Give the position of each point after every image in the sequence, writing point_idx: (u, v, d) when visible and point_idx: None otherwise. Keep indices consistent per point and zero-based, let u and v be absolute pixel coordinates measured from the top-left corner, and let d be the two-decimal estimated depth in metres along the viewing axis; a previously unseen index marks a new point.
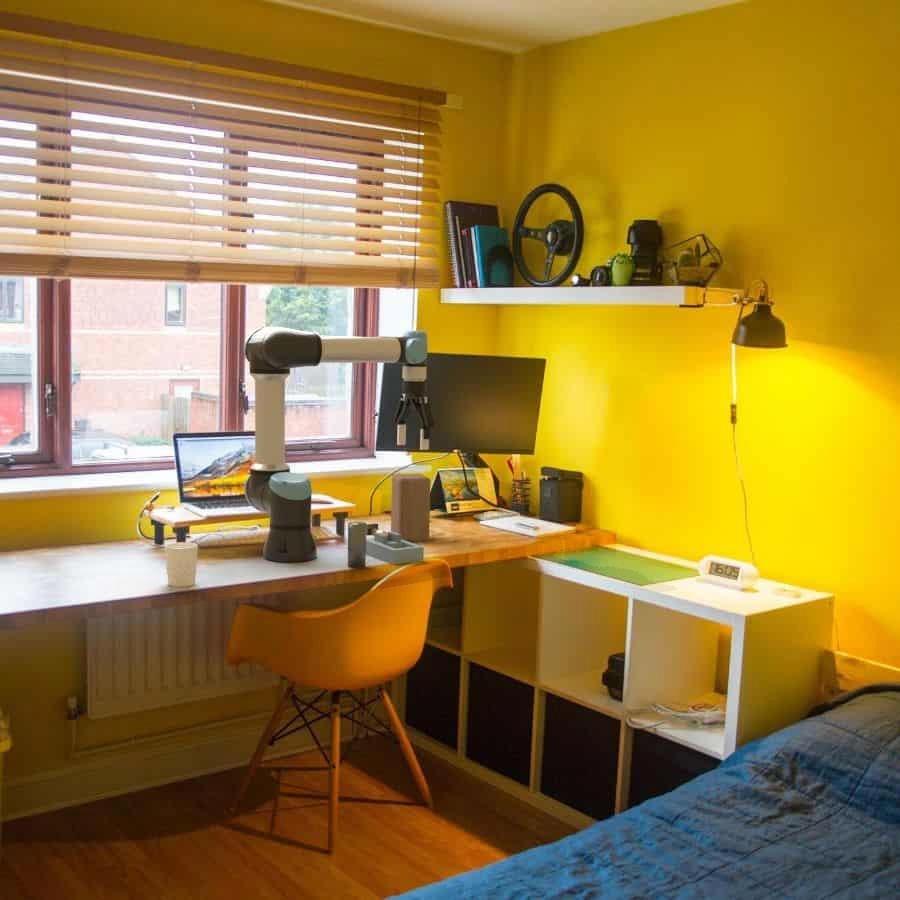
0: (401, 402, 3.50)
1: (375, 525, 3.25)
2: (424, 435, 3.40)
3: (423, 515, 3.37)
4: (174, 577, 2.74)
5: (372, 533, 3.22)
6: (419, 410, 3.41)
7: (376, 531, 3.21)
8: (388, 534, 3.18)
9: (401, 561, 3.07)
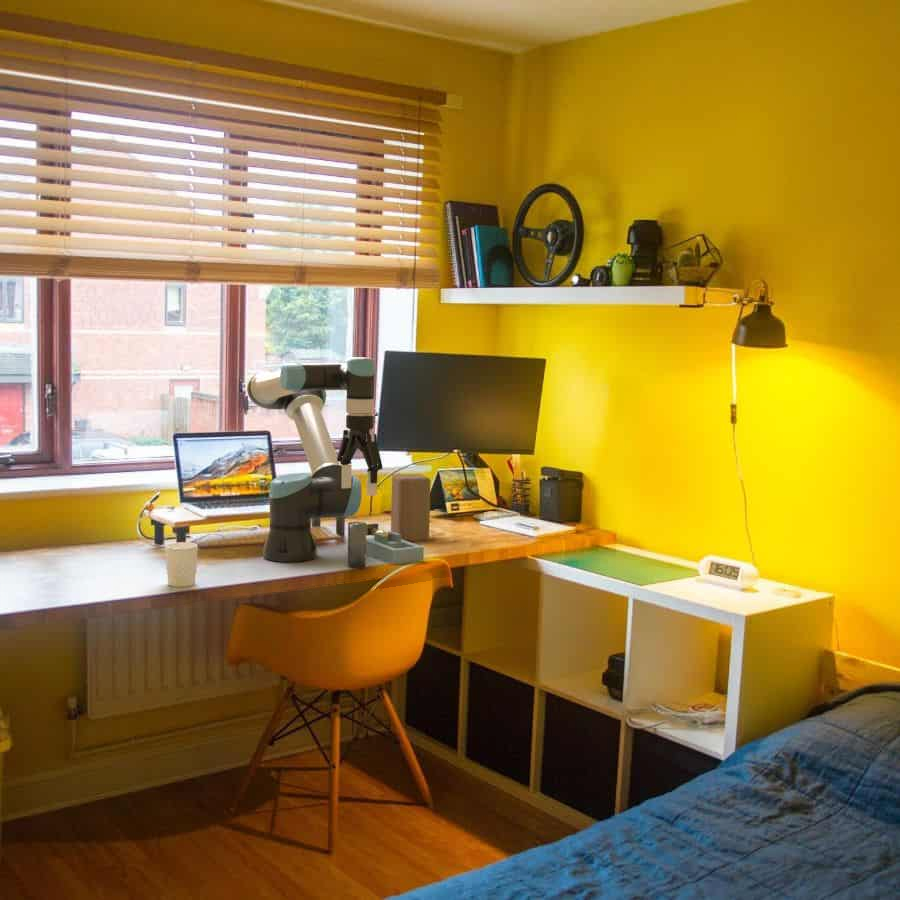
0: (345, 439, 3.03)
1: (375, 525, 3.25)
2: (371, 478, 2.94)
3: (423, 515, 3.37)
4: (174, 577, 2.74)
5: (372, 533, 3.22)
6: (365, 449, 2.95)
7: (376, 531, 3.21)
8: (388, 534, 3.18)
9: (401, 561, 3.07)
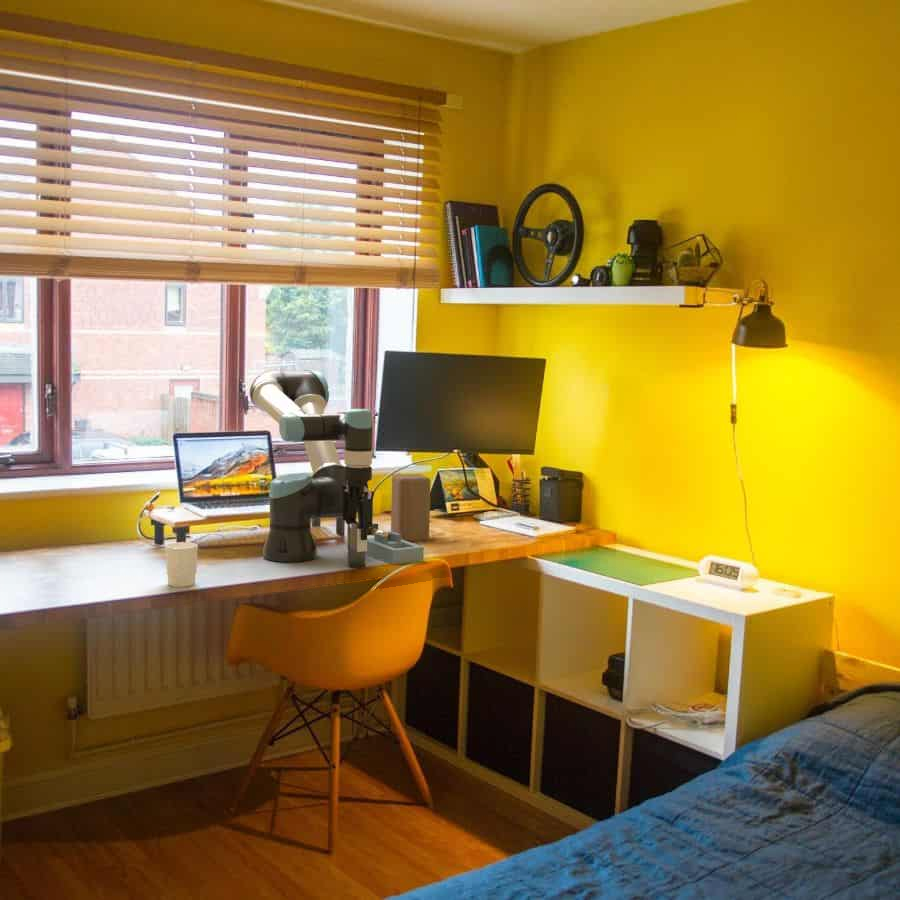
0: (346, 494, 3.04)
1: (375, 525, 3.25)
2: (361, 535, 2.98)
3: (423, 515, 3.37)
4: (174, 577, 2.74)
5: (372, 533, 3.22)
6: (360, 504, 2.98)
7: (376, 531, 3.21)
8: (388, 534, 3.18)
9: (401, 561, 3.07)
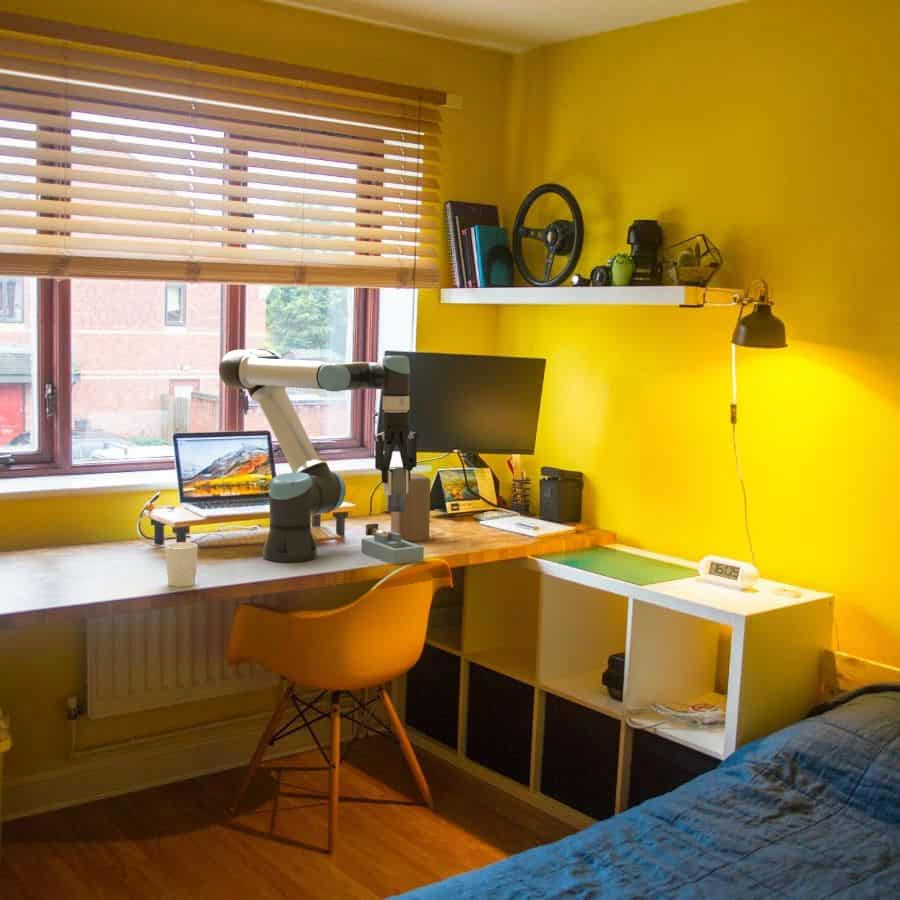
0: (409, 440, 3.10)
1: (375, 525, 3.25)
2: None
3: (423, 515, 3.37)
4: (174, 577, 2.74)
5: (372, 533, 3.22)
6: (386, 448, 3.06)
7: (376, 531, 3.21)
8: (388, 534, 3.18)
9: (401, 561, 3.07)
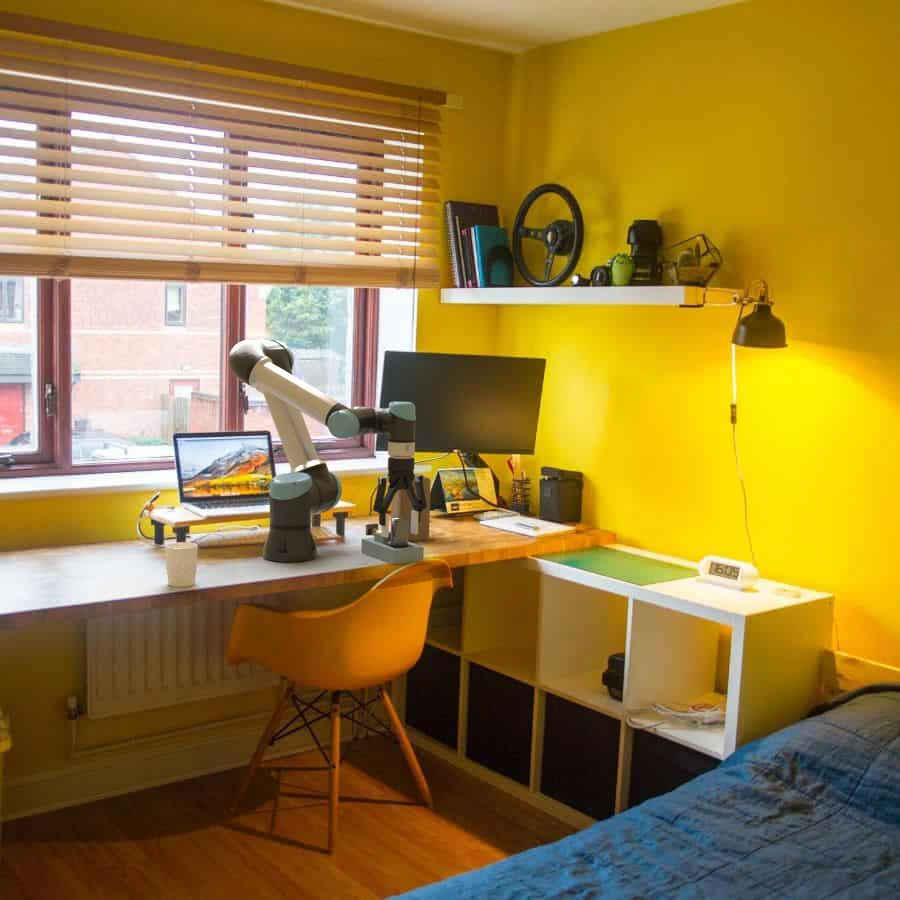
0: (415, 483, 3.14)
1: (375, 525, 3.25)
2: None
3: (423, 515, 3.37)
4: (174, 577, 2.74)
5: (372, 533, 3.22)
6: (388, 491, 3.09)
7: (376, 531, 3.21)
8: (388, 534, 3.18)
9: (401, 561, 3.07)
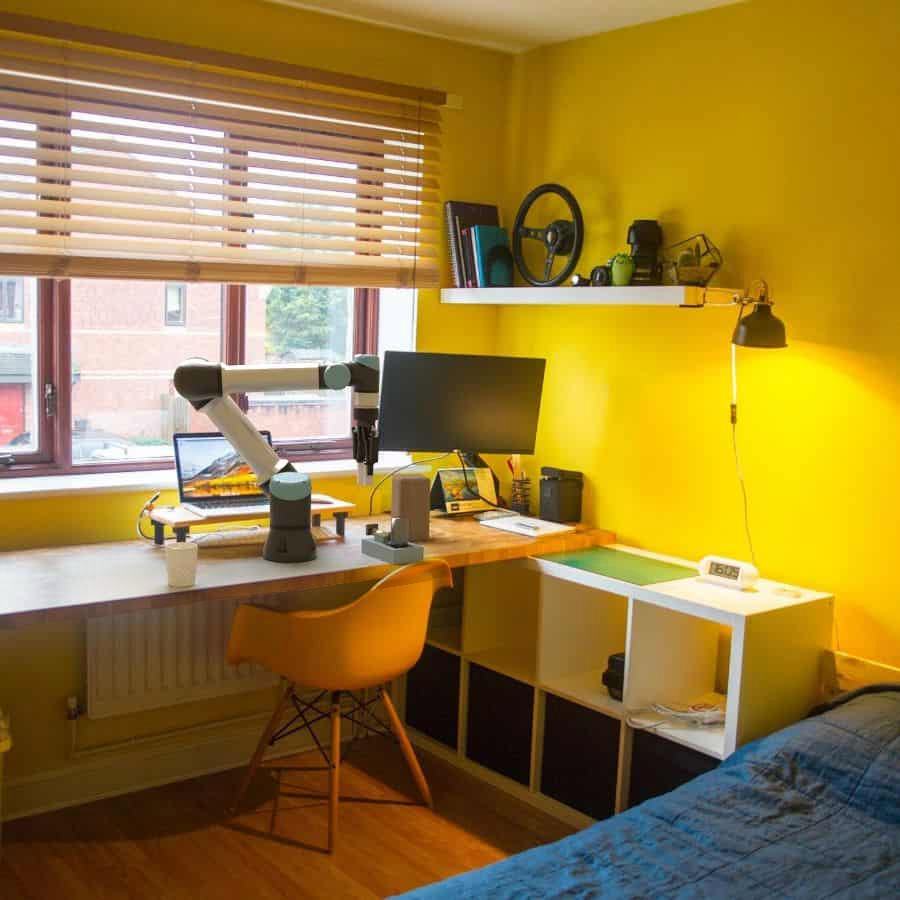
0: (355, 434, 3.29)
1: (375, 525, 3.25)
2: (368, 471, 3.24)
3: (423, 515, 3.37)
4: (174, 577, 2.74)
5: (372, 533, 3.22)
6: (368, 442, 3.23)
7: (376, 531, 3.21)
8: (388, 534, 3.18)
9: (401, 561, 3.07)
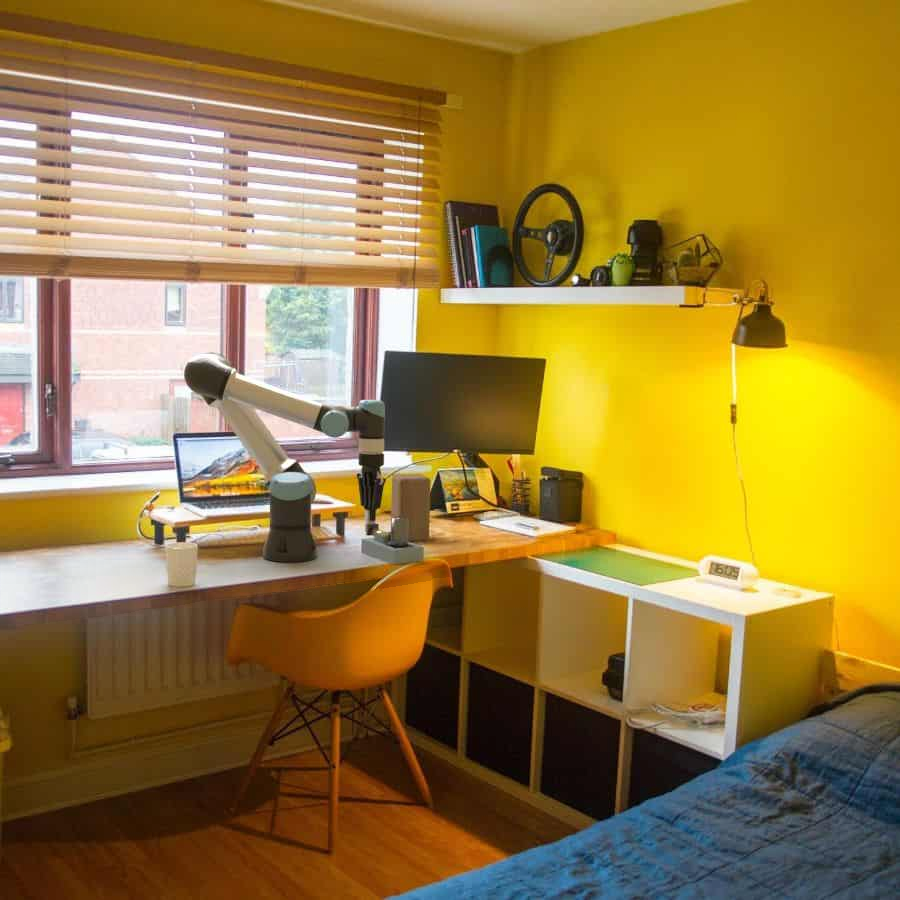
0: (361, 480, 3.27)
1: (375, 525, 3.24)
2: (370, 517, 3.24)
3: (423, 515, 3.37)
4: (174, 577, 2.74)
5: (373, 533, 3.22)
6: (372, 488, 3.22)
7: (376, 531, 3.21)
8: (388, 534, 3.18)
9: (401, 561, 3.07)
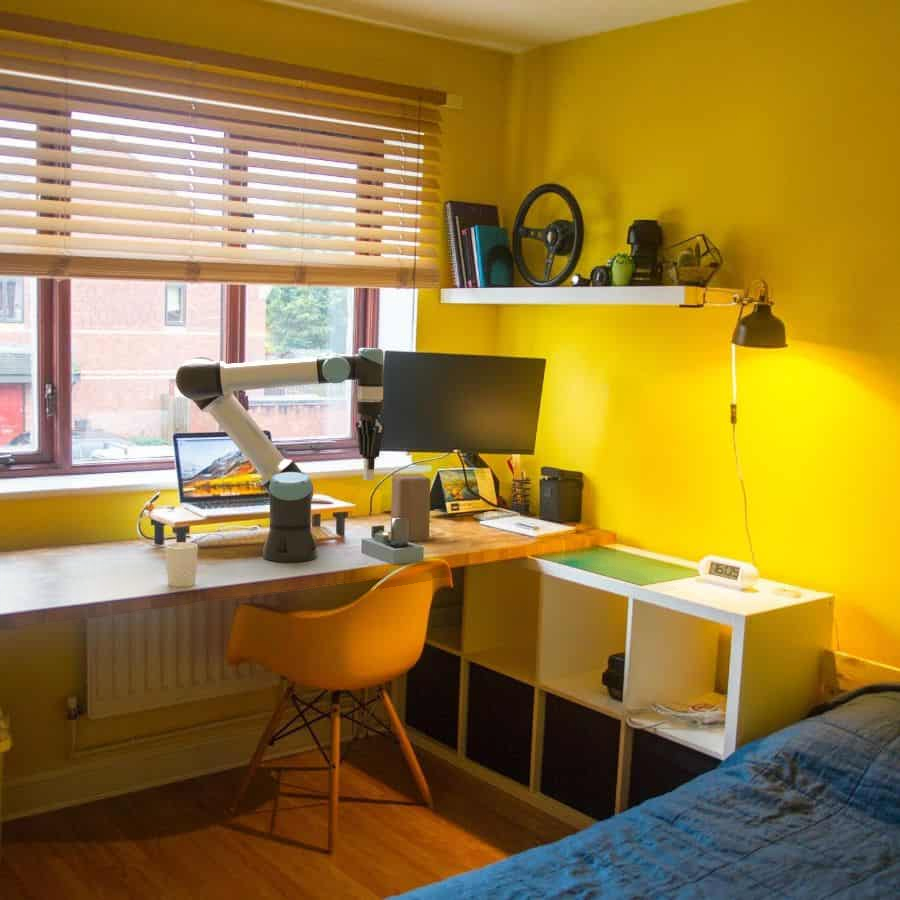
0: (360, 429, 3.26)
1: (381, 527, 3.22)
2: (369, 465, 3.23)
3: (423, 515, 3.37)
4: (174, 577, 2.74)
5: None
6: (370, 437, 3.22)
7: (382, 533, 3.18)
8: None
9: (401, 561, 3.07)
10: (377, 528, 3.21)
